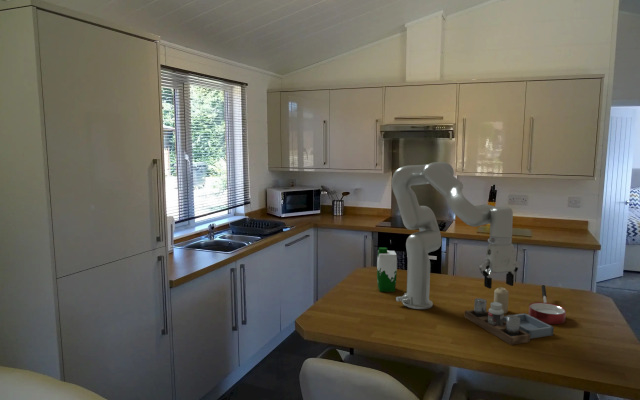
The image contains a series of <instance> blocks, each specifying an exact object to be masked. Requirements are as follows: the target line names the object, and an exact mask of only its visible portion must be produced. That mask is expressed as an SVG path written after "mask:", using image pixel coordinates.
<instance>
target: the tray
mask: <svg viewBox="0 0 640 400" xmlns="http://www.w3.org/2000/svg"><path fill="white" fill-rule="evenodd" d="M515 315H516V316H518V317H520V327H519V329H520V330H522V331H524V332H525V333H527V334H529V335H530V340H532V339H538V338H542V337H543V338H544V337H548V336H549V337H550V336H554V330H555V329H554V328H555V327H554V326H552V325H551V324H546V323H544V322H542V321H540V320H538V319H536V318H534V317H532V316H530V315H529V313H528V314H527V313H525V312H524V313H518V314H517V313H516V314H515ZM506 318H507V315H503V321H505V322H506Z"/></svg>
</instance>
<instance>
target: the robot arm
mask: <svg viewBox="0 0 640 400" xmlns="http://www.w3.org/2000/svg"><path fill="white" fill-rule="evenodd" d="M420 185H431V186H432V187H433V188H434V189H435V190H436V191H437V192H439V194H441V195H442V196H443V198H445V199H446V201H447V203H448V206H449V208H450V209H451V211H452V212H453V214H454V215H455V216H456V217H457V218H459V219H460V220H461V221H462V222H463V223H464V224H466V225H468V226H470V227H475V228H476V227H479V226H485V225H489V224H490V226H489V238H488V239H487V242H488V243H489V244H488V245H487V249H486V252H485V253H486V254H485V261H483V262H482V263H481V264H480V265H478V268H479V271H480V273H481V274H482V276H483V277H484V282H483V283H484V284H483V285H484V287H485V288H488V289H492V285H493V284H492V282H493V281H492V280H493V279H492V276H493V274H501V273H506V277H505V280H506V281H505V284H506V285H509V286H511V287H514V281H515V278H514V277H515V276H516V274H517V273H516V272H518V270H519V269H518V268H519V266H520V264H521V262H520V261H517V260H516V251H515V247H514V244H513V243H512V241H513V220H514V219H513V218H514V215H513V214H514V212H513V209H512V208H510V207H508V206H507V207H506V206H495V205H491V204H485V203H484V204H478V205H477V204H476V205H474V204H473V203H471V202H470V201H469V200H468V199H467V198H466V197H465V196H464V194H463V192H462V191H463V188H464V184H463V182H461V181H460V180H459V179H458V178H457V177H456V176H455V171H454V168H453V166H452V165H451V164H450V163H449V162H446V161H439V162H437V161H434V162H430V163H428V164H415V165H414V164H413V165H411V164H409V165H405V166H401V167H399V168H398V169H397V168H396V170H395V171H394V172H393V174H392V178H391V189H392V192H393V195H394V197H395V199H396V203H397V207H398V210H399V213H400V217H401V219H402V224H403V225H404V227H405V228H406V229H407V230H411V231H412V230H419V231H416V232H413V233H411V234H410V235H409V236H408V237H407V238H406V242H405V248H406V255H407V266H406V267H407V268H406V269H407V271H406V272H407V273H406V275H407V276H406V292H404V294H403V295H401V296H396V297H395V301H396V302H401V303H402V304H403V306H405V307H407V308H409V309H414V310H427V309H431V308H433V301H432V300H430V288H431V287H430V285H431V284H430V281H431V280H430V279H431V261H430V258H429V253H431V252H435V251H437V250H439V249H440V247H441V246H442V243H443V241H442V234H441V231H440V227H439V225H438V221H437V218H436V215H435V212H434V211H433V210H432V208H430V207H429V206H427V205H420V204H419V201H418V197H417V195H416V193H415V191H414V190H413V189H412V188H411V187H412V186H420Z"/></svg>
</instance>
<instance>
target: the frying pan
mask: <svg viewBox="0 0 640 400" xmlns="http://www.w3.org/2000/svg"><path fill="white" fill-rule="evenodd" d="M540 287H541V295H542V299H543V301H542V302H537V301H535V302H531V303H529V306H528V315H530V316H532V317H534V318H536V319H538V320H540V321H542V322H544V323H546V324H548V325H561V324H564V323H565V322H566V315H567V313H566V312H567V310H566V308H564V307H562V306H560V305H558V304H554V303H550V302H548V301H547V289H546V288H547V287H546V285H544V284H541V286H540Z"/></svg>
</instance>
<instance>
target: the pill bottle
mask: <svg viewBox="0 0 640 400" xmlns="http://www.w3.org/2000/svg"><path fill="white" fill-rule="evenodd" d="M487 312H488V323H489V324H491V325H492V326H501V325H503V316H505V314H504V311H503V310H502V304H501V303H498V302H494V301H492V302H490V308H488V311H487Z"/></svg>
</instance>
